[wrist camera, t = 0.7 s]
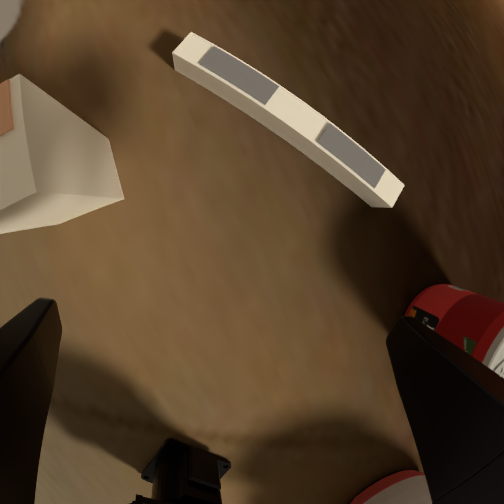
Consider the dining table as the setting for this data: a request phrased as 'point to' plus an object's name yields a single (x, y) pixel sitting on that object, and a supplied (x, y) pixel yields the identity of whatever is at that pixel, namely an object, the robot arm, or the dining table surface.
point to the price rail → (287, 119)
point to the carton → (49, 161)
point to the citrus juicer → (397, 490)
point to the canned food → (464, 321)
